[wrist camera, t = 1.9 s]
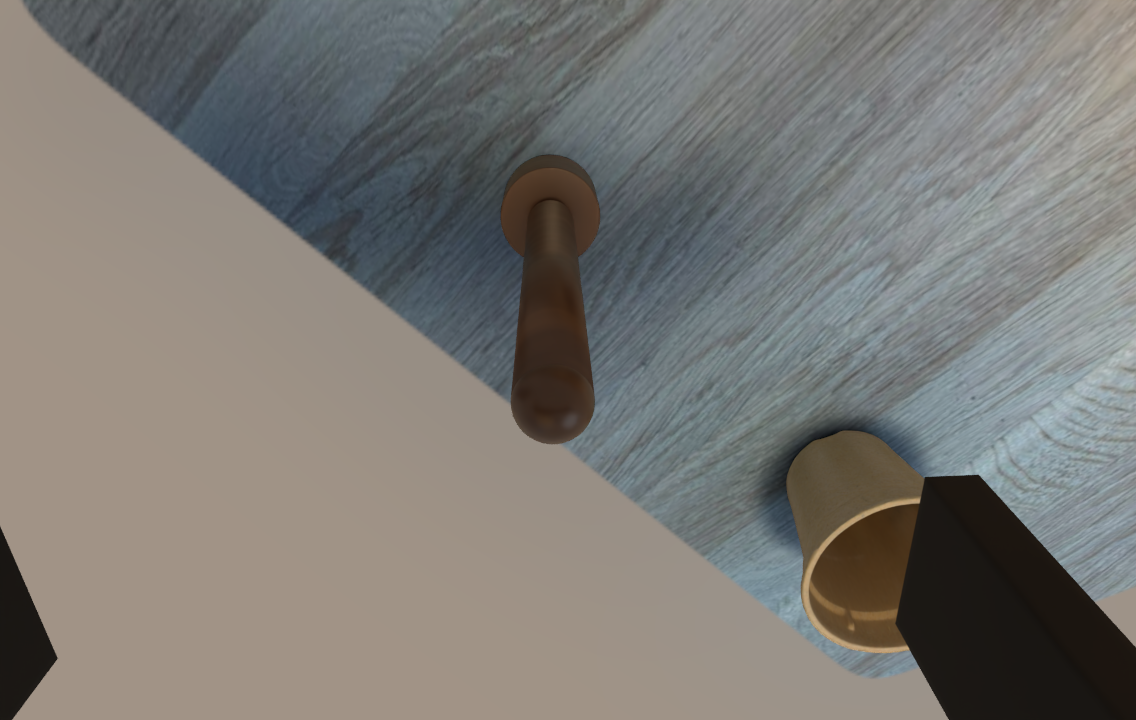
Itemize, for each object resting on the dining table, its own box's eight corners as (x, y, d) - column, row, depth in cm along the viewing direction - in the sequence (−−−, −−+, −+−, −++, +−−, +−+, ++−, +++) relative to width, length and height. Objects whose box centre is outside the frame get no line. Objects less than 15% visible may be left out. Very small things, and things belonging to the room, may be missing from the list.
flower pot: (907, 539, 45) (981, 651, 38) (750, 544, 45) (792, 658, 37) (936, 401, 41) (1027, 494, 34) (764, 406, 41) (815, 501, 33)
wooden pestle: (500, 241, 37) (451, 495, 18) (507, 149, 35) (460, 325, 16) (590, 250, 37) (634, 509, 18) (601, 159, 35) (665, 343, 16)
